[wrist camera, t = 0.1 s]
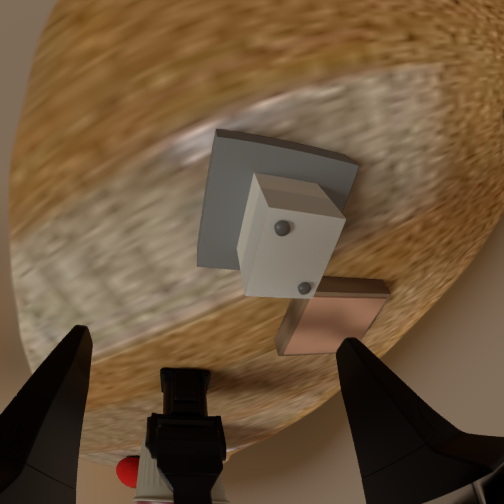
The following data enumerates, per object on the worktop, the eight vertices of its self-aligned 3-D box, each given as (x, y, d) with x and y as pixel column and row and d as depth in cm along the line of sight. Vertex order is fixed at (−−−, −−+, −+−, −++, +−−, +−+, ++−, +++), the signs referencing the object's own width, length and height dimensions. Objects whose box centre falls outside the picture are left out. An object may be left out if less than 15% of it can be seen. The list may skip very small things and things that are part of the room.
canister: (212, 413, 44) (226, 526, 27) (227, 440, 55) (240, 524, 38) (117, 416, 43) (115, 519, 26) (151, 444, 53) (154, 524, 37)
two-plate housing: (293, 254, 23) (313, 301, 19) (236, 248, 22) (245, 299, 17) (317, 183, 19) (348, 222, 15) (254, 172, 18) (269, 210, 14)
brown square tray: (346, 338, 35) (353, 352, 33) (274, 340, 33) (278, 357, 31) (382, 279, 30) (392, 295, 28) (301, 274, 28) (308, 292, 26)
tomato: (113, 457, 62) (112, 487, 54) (121, 450, 57) (120, 484, 49) (157, 465, 68) (158, 494, 60) (170, 459, 63) (172, 491, 55)
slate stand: (308, 258, 26) (316, 275, 24) (197, 247, 24) (196, 266, 22) (344, 154, 21) (359, 165, 19) (215, 128, 19) (217, 136, 17)
